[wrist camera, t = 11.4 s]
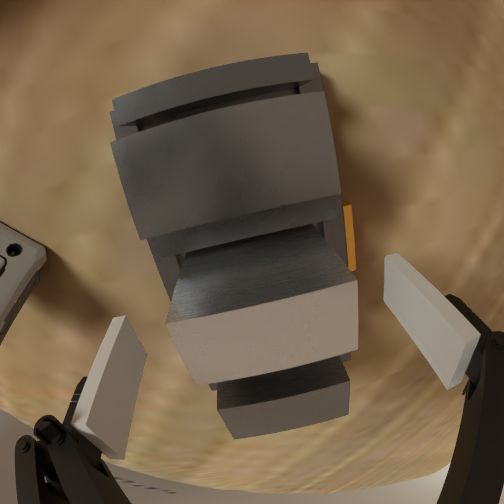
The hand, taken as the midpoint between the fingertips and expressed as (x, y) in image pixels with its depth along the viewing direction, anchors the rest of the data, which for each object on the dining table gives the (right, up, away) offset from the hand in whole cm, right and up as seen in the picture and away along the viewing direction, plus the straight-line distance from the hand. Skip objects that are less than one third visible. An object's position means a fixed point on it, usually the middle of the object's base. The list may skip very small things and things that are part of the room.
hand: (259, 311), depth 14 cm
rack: (0, +3, +7) cm, 8 cm away
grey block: (0, +3, +7) cm, 7 cm away
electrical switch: (-22, +3, +6) cm, 23 cm away
